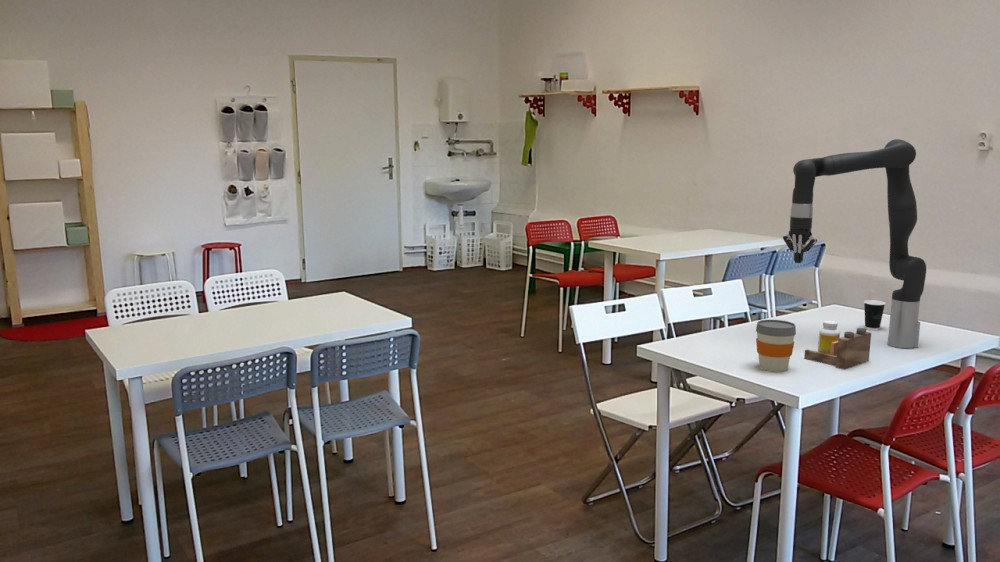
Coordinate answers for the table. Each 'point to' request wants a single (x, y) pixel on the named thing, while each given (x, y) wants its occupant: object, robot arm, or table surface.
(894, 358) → the table surface
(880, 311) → the dixie cup
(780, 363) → the reusable coffee cup
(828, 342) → the supplement bottle
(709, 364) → the table surface
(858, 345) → the cradle
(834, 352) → the plate
